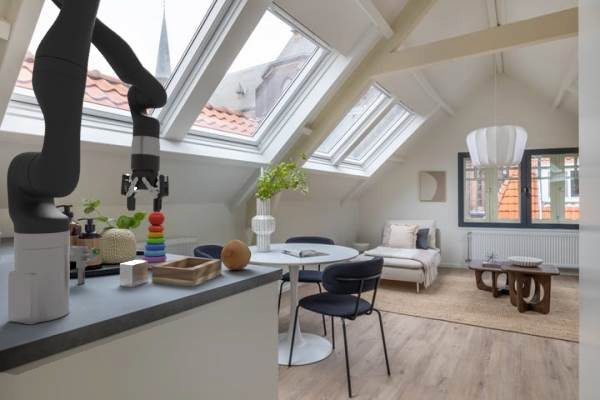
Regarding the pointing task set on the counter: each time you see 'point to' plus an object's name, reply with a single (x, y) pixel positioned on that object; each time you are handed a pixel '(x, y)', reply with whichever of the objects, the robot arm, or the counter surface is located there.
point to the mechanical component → (83, 259)
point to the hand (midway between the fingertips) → (144, 211)
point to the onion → (236, 255)
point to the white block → (133, 273)
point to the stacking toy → (155, 241)
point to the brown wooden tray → (186, 271)
